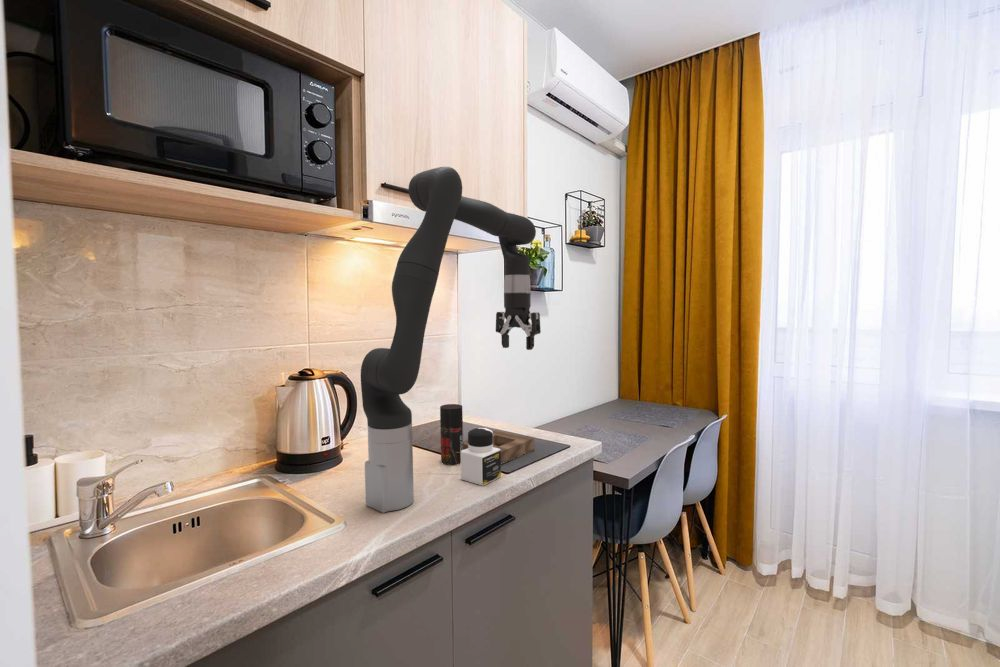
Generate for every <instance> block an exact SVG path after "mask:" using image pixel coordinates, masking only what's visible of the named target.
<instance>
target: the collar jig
mask: <svg viewBox="0 0 1000 667" xmlns="http://www.w3.org/2000/svg"><path fill="white" fill-rule="evenodd" d="M491 431H492V430H491ZM492 432H493V447H495V448H499V449H500V450H501V463H503V462H506V461H509V460H511V459H513V458H515V459H517V458H516V457H518V456H520V457H522V456H524V455H523V454H525V455H527V454H529V453H531V452H534V451H535V439H534V437H529V436H524V435H522V434H521V435H520V434H516V433H513V432H512V433H511V432H507V431H502V430H497V429H496V430H493V431H492ZM467 448H469V447H468V439H466V440H463V450H464V449H467ZM533 450H534V451H533ZM528 452H529V453H528ZM526 453H527V454H526ZM521 455H522V456H521ZM518 458H519V457H518ZM513 460H514V459H513ZM511 461H512V460H511ZM509 462H510V461H509ZM506 463H507V462H506Z"/></svg>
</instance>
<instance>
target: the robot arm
mask: <svg viewBox="0 0 1000 667" xmlns="http://www.w3.org/2000/svg"><path fill="white" fill-rule="evenodd" d="M408 196H409V199H410V201H411V202H412V204H413V205H414V206H415V207H416V208H417V209H419V210H420V211H422V212H425V214H424V217H423V219H422V221H421V223H420V225H419V227H418V228H417V229H416V231H415V232H414V234H412V235H413V236H411V238H410V239H409V241H408V242H407V244H406V245H405V246H404V248H403V249H402V251H401V253H400V255H399V257H398V260H397V263H396V266H395V270H394V274H393V278H392V283H391V295H392V302H393V307H394V311H395V319H396V321H395V327H394V328H395V330H394V334H393V338H392V341H391V345H390V347H389V348H386V347H377V348H374V349H372V350H370V351H369V352H368V353H367V354H366V355H365V356H364V358H363V360H362V364H361V367H360V387H361V389H360V390H361V399H362V400H361V401H362V409H363V412H364V414H365V417H366V421H367V446H368V447H367V449H368V460H365V462H364V483H365V485H364V488H365V489H364V490H365V505H366V506H367V507H369V508H371V509H373V510H376V511H377V512H381V513H382V514H383V513H386V512H391V511H398V510H402V509H404V508H407V507H409V506H411V505H412V504H413V503H414V501H415V498H414V496H415V490H414V456H413V455H414V454H413V453H414V452H413V414H412V413H413V412H412V410H411V408H410V407H409V406H408V405H406V403H405V402H403V400H402V398H401V396H400V395H405V394H406V393H408V392H410V390H411V389H413V387H414V385H415V384H416V381H417V379H418V376H419V372H420V367H421V362H422V361H421V360H422V354H423V348H424V347H423V345H424V340H425V335H426V334H425V333H426V328H427V324H428V318H429V314H430V310H431V309H430V308H431V305H432V301H433V297H434V294H435V291H436V286H437V282H438V278H439V274H440V269H441V265H442V264H441V263H442V260H443V257H444V254H445V249H446V246H447V241H448V239H449V235H450V232H451V229H452V226H453V224H454V221H455V220H456V221H458V222H461V223H464V224H466V225H470V226H472V227H474V228H477V229H479V230H480V231H483V232H484V233H487V234H489V235H491V236H494V237H498V242H499V246H500V249H501V254H502V256H503V262H504V280H503V307H504V309H505V311H497V312H496V314H495V332H496V333H498V334H500V336H501V338H500V339H501V346H502V348H503V349H507V348H508V349H509V347H510V335H509V333H511V330H513V328H517V329H518V328H519V329H520V328H521V330H522V331H523V332H525V334H526V338H525V339H526V343H525V344H526V345H525V348H526V351H532V350H533V348H534V347H535V336H537V335H540V334H541V332H542V331H541V317H540V316H541V315H540V312H536V311H535V312H531V311H530V309H531V302H532V301H531V279H530V278H531V277H530V276H531V275H530V271H531V270H530V257H529V256H528V255H527V254H525V253H521V252H519V250H518V247H517V246H524V245H529V244H530V243H532V242H533V241H534V240H535V238H536V234H537V230H536V227H535V225H534V223H533V221H531V220H530V219H529V218H527V217H525V216H522V215H519V214H515V213H511V212H507V211H504V210H503V209H501V208H500V207H498V206H496V205H494V204H492V203H489V202H487V201H485V200H480V199H476V198H471V197H466V196H463V182H462V178H461V175H460V173H459V172H458V171H457V170H456V169H455V168H453V167H451V166H439V167H434V168H430V169H427V170H424V171H421V172H419V173H416V174H415V175H414V176H412V178H411V179H410V181H409V182H408Z"/></svg>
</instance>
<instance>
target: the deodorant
mask: <svg viewBox="0 0 1000 667" xmlns="http://www.w3.org/2000/svg"><path fill="white" fill-rule="evenodd" d="M439 416H440V418H439V419H440V421H439V422H440V463H441V464H442V463H443V464H442V465H444V464H445V466H458V465H461V464H460V463H461V451H462V450H463V441H464V432H463V430H464V429H463V428H464V425H463V424H464V423H463V405H462V404H457V403H449V404H448V403H447V404H442V405H440V406H439ZM457 464H458V465H457Z"/></svg>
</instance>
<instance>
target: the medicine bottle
mask: <svg viewBox="0 0 1000 667" xmlns="http://www.w3.org/2000/svg"><path fill="white" fill-rule="evenodd" d="M467 440H468V447H469V448H467V449H464V450H462V451H461V464H460V479H461V480H463V481H466V482H469V483H473V484H475V485H479V486H485V485H488V484H489V483H491V482H494V481H495V480H497V479H499V478H501V477H502V465H501V450H500V449H499V448H495V447H493V432H492V430H491V429H489V428H486V427H485V428H484V427H476V428H473V429H471V430H468V432H467Z"/></svg>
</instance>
